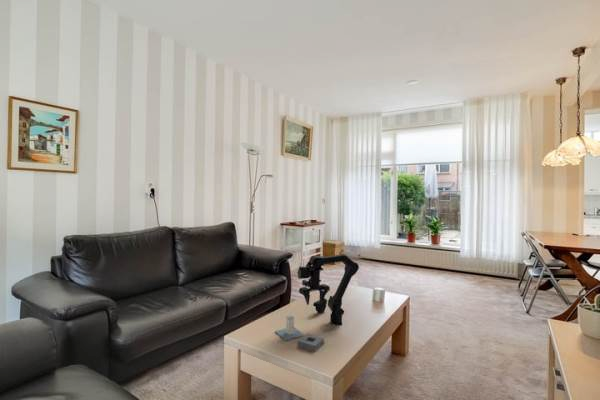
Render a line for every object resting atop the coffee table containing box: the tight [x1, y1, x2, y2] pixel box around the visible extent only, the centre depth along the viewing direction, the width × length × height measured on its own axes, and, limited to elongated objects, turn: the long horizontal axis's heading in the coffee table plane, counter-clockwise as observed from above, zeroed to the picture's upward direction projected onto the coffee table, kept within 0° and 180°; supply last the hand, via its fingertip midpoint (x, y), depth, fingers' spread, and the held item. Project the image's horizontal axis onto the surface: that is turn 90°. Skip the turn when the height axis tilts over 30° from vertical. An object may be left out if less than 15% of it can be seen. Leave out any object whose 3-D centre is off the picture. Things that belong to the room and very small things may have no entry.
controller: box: [312, 295, 328, 314], centre depth 198 cm, size 4×12×10 cm, turn 142°
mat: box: [274, 326, 305, 342], centre depth 166 cm, size 12×12×1 cm
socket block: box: [297, 332, 325, 353], centre depth 154 cm, size 10×10×3 cm
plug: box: [285, 315, 295, 335], centre depth 166 cm, size 3×3×9 cm
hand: (314, 303), depth 178 cm, fingers open, 9 cm apart
